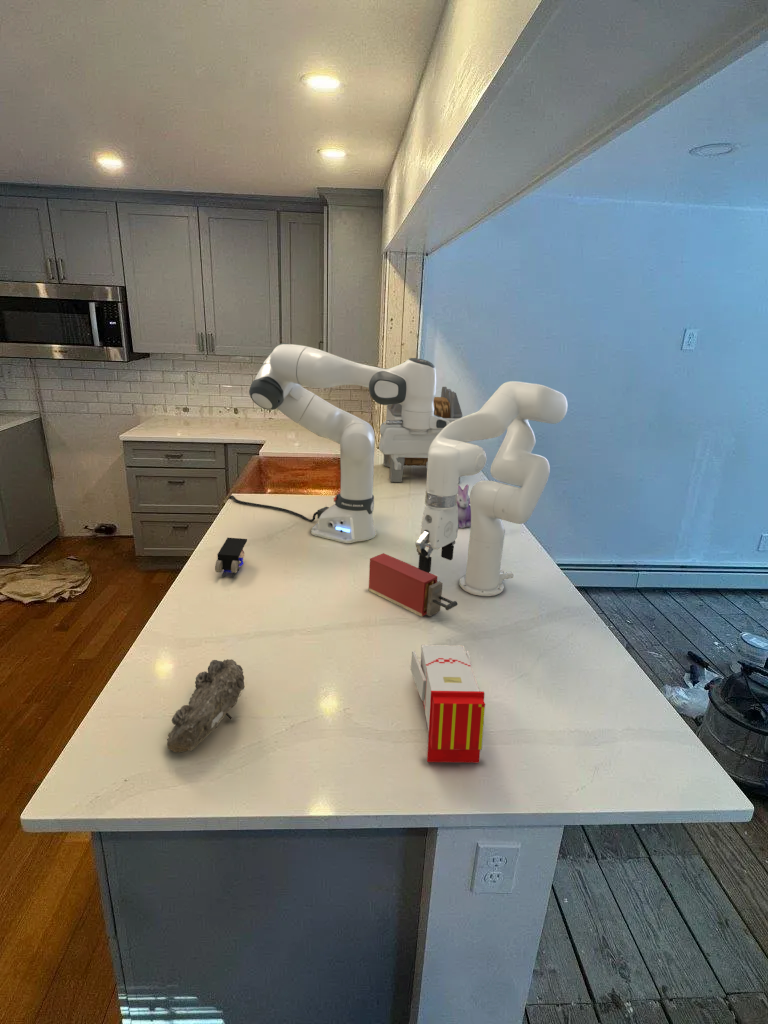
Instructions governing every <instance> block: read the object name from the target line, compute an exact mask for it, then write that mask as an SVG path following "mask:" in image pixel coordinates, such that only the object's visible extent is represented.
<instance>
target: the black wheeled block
mask: <svg viewBox="0 0 768 1024" xmlns="http://www.w3.org/2000/svg"><path fill="white" fill-rule="evenodd" d="M247 542H248V538H240V537H226V539H225V541H224V543H223V544H222V546H221V547H220V549H219V551H218V552H217V560H216V562H215V564H214V572H215V573H221V577H222V578H224V577H225V576H226V574H227V573H230V574H231V573H232V574H231V578H234V577H235V575H236V573H237V572H239V571H240V567H242V566H243V565H244V564H245V562H244V558H245V551H244V547H245V546H246V544H247Z"/></svg>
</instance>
